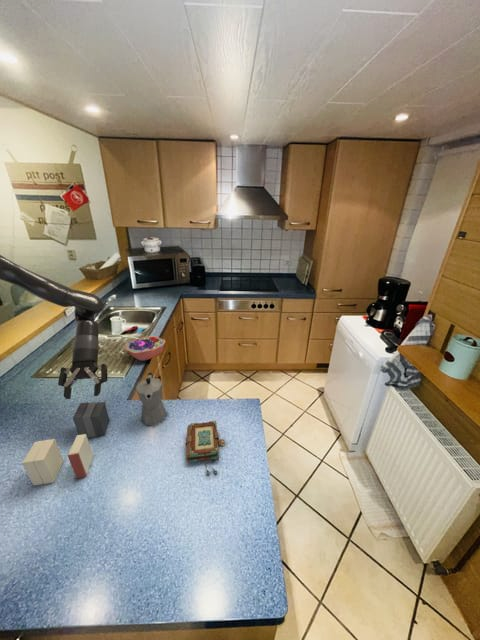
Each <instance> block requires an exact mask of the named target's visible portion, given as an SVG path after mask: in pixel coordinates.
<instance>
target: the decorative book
mask: <svg viewBox="0 0 480 640" xmlns="http://www.w3.org/2000/svg"><path fill="white" fill-rule="evenodd" d="M217 427H218V424H217V420H210V421H207V422H199V423H198V422H190V424H188V425H187V428H186V438H185V448H186V451H185V452H186V453H185V459H186V461H187V462H190V463H198V462H199V461H205V462H204V463H205V464H204V466H205V469H206V475H210V470H208V468H207V464H209V462H208V461H209V460H218V459H220V450H219V449H220V448H219V446H220V447H224V446H225V444H226V441H225V439H223V438H220V435H219V432H218V430H217ZM210 467H211V468H212V471H213V473H214V475H217V473H218V471H217V470H215V469H214V467H213V466H211V465H210Z"/></svg>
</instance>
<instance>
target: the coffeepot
mask: <svg viewBox="0 0 480 640" xmlns="http://www.w3.org/2000/svg"><path fill="white" fill-rule="evenodd" d="M135 390H136V393H137V396H138V398H139V401H140V402H141V420H142V422H143V423H144V425H148V426H154V425H155V426H156V425H157V424H159V423H161V422H163V421H164V419H165V418H166V416H167V410H166V409H165V406H164V403H163V401H162V398H163V382H162V381H161V379H160V378H157V377H153V373H152V372H148V373H147V378H145V379H142V380H141V381H139V382H138V384H137V385H136V387H135Z"/></svg>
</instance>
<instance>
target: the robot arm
mask: <svg viewBox="0 0 480 640" xmlns="http://www.w3.org/2000/svg"><path fill="white" fill-rule="evenodd" d="M0 280H1V281H3V282H6V283H9V284H10V285H13V286H16V287H18V288H20V289H22V290H24V291H26V292H27V293H30V294H31V295H33V296H35V297H37V298H39V299H41V300H44V301H46V302H48V303H52V304H54V305H57V306H60V307H63V308H69V307H74V319H75V324H76V328H75V337H74V342H73V350H72V358H71V367H64V366H62V367H60V371H59V377H58V382H57V385H58V386H59V387H63V398H64V399H65V400H71V398H72V386H73V385H74V384H75V383H76V382H77V381H78V380H85V379H86V380H90V379H92V381H93V382H94V383H95V384H94V388H93V396H94V397H98V396H99V395H100V394H101V393H102V392H101V390H102V384H104V383H107V382H108V365H107V364H106V363H102V364H98V359H99V349H100V347H99V346H100V345H99V344H100V343H99V334H100V326H99V325H100V324H99V323H98V322H97V321H95V316H96V315H98V314H100V313H101V312H102V311H103V310H104V308H105V303H104V301H103V300H102V299H101V298H100V297H99V296H98V295H96V294H94V293H91V292H87V291H82V290H79V289H73V288H71V287H69V286H67V285H65V284H62V283H60V282H58V281H55V280H52V279H50V278H48V277H45V276H43V275H41V274H38V273H37V272H33V271H32V270H29V269H27V268H25V267H23V266H21V265H19V264H18V263H15V262H13V261H12V260H10V259H8V258H7V257H5V256H3V255H2V254H0ZM98 370H99V372H100V378H99V376H98V374H96V372H97V371H98ZM70 373H71V374H70ZM69 374H70V376H69V377H68V375H69Z"/></svg>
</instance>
